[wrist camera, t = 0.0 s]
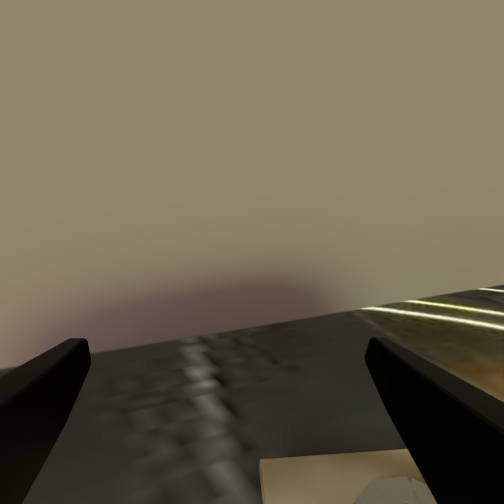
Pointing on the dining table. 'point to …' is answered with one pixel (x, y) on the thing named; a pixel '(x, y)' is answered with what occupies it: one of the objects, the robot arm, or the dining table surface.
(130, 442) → the dining table surface
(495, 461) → the robot arm
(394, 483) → the steel ring collar
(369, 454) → the birch base plate
